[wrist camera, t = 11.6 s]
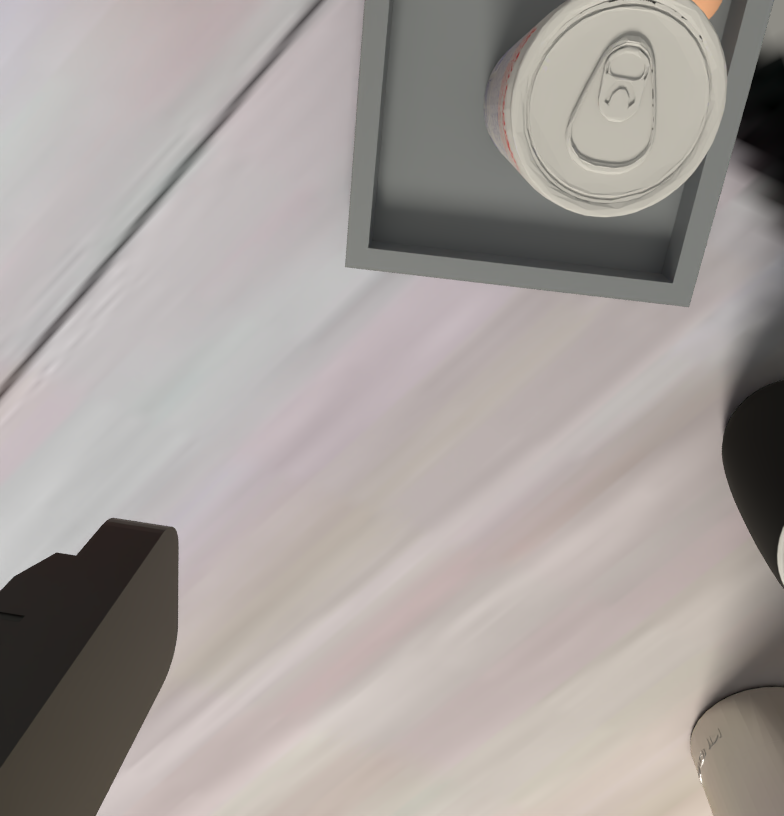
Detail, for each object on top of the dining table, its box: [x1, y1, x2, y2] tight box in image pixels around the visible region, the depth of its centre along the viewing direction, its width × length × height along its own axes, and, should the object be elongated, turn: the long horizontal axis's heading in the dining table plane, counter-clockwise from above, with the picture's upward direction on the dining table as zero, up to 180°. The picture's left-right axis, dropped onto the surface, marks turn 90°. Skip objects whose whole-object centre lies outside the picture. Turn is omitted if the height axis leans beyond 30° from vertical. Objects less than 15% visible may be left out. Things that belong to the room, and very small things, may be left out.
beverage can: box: [483, 0, 727, 217], centre depth 25 cm, size 6×6×15 cm
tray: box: [345, 0, 774, 307], centre depth 31 cm, size 16×16×2 cm
